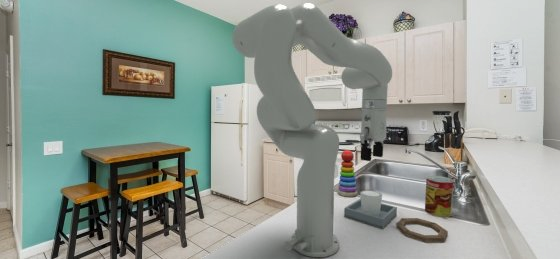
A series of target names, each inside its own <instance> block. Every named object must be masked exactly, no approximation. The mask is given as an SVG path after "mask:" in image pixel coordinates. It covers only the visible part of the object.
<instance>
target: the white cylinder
mask: <svg viewBox="0 0 560 259" xmlns="http://www.w3.org/2000/svg"><path fill="white" fill-rule="evenodd" d="M360 198H361V210H362V212H363V213H367V214H370V215H374V216H377V217H378V216H379V215H380V208H381V203H382V200H383V194H382V193H381V192H379V191H374V190H368V189H367V190H365V189H364V190H361V191H360Z"/></svg>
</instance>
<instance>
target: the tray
mask: <svg viewBox="0 0 560 259" xmlns="http://www.w3.org/2000/svg"><path fill="white" fill-rule="evenodd" d="M397 210H398V207H397V206H394V205H391V204H390V205H389V204H386V203H382V202H381V208H380V215H379V216H378V217H377V216H374V215H370V214H367V213H363V212H362V210H361V197H360V198H359V199H357V200H355V201H354V202H351V204H349V205H347V206H345V207H344V215H343V217H344V218H347V219H350V220H353V221H355V222H359V223H362V224H366V225H369V226H372V227H375V228H379V229H381V230H383V229H385V228H386V227H387V226H388V225H389V224H390V223H391V222H392V221H393V220H394V219H395V218H397V215H398V214H397V213H398V212H397Z"/></svg>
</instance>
